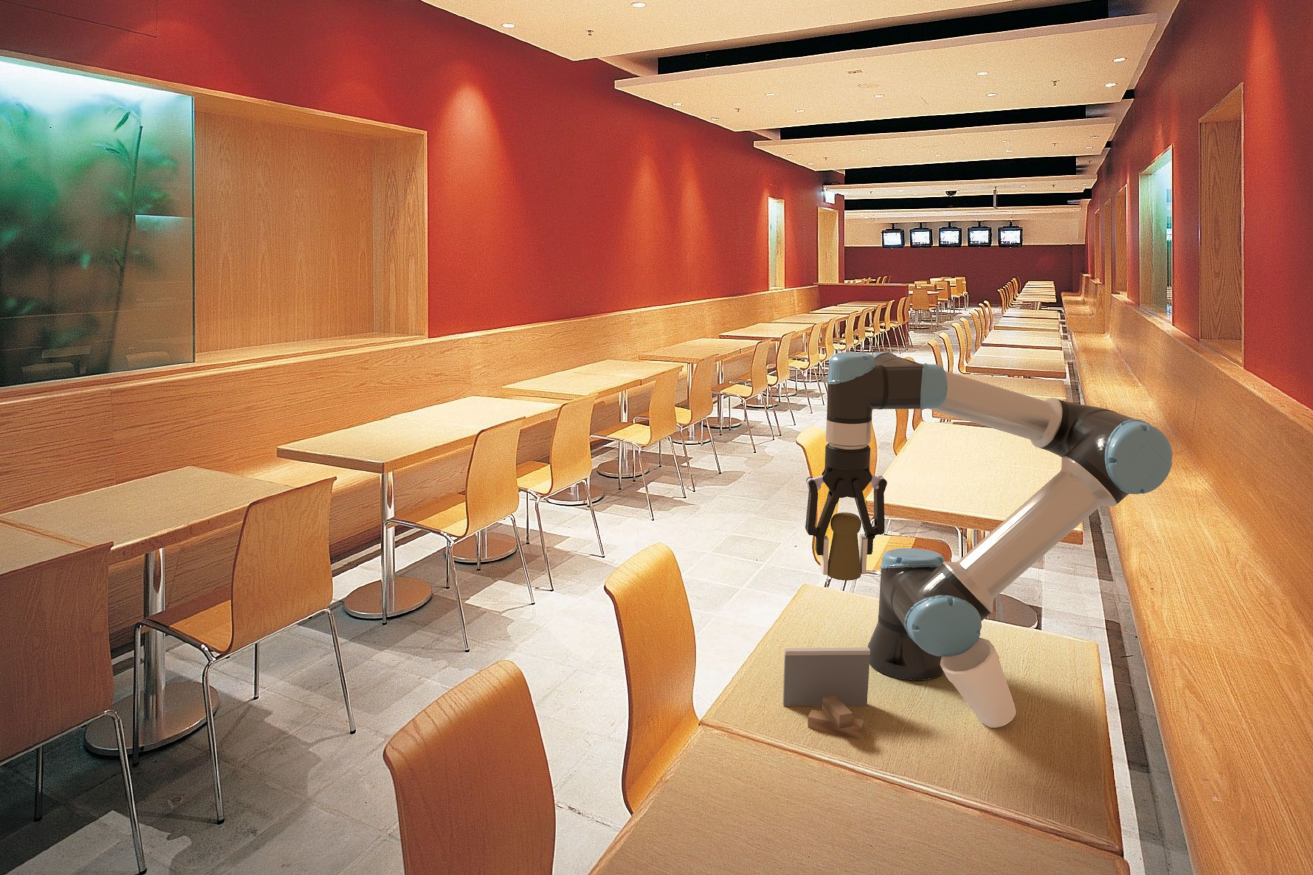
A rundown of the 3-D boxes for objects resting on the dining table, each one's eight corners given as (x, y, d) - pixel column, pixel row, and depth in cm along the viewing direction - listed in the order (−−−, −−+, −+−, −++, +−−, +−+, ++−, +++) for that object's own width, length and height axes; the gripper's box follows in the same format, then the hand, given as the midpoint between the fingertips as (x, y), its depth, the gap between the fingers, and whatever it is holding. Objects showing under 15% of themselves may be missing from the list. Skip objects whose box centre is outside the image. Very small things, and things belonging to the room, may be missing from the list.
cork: (819, 570, 153) (821, 511, 151) (847, 565, 155) (850, 507, 153) (839, 582, 148) (842, 521, 145) (868, 577, 150) (871, 516, 148)
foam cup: (1034, 717, 145) (1002, 656, 142) (983, 742, 146) (951, 681, 143) (1011, 688, 154) (981, 630, 151) (964, 711, 155) (933, 654, 152)
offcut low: (863, 732, 147) (863, 719, 147) (860, 740, 145) (861, 727, 144) (810, 722, 151) (811, 709, 150) (807, 729, 148) (808, 716, 148)
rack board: (865, 702, 156) (868, 647, 154) (867, 705, 155) (870, 650, 153) (782, 702, 156) (784, 648, 154) (783, 706, 155) (785, 651, 152)
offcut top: (851, 726, 145) (852, 712, 144) (839, 728, 144) (839, 715, 144) (834, 708, 150) (834, 695, 150) (821, 710, 150) (822, 697, 149)
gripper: (897, 438, 150) (891, 563, 156) (788, 439, 150) (785, 564, 156) (910, 448, 143) (902, 579, 148) (795, 449, 143) (792, 580, 148)
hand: (843, 571), depth 152 cm, fingers closed on cork, 6 cm apart
